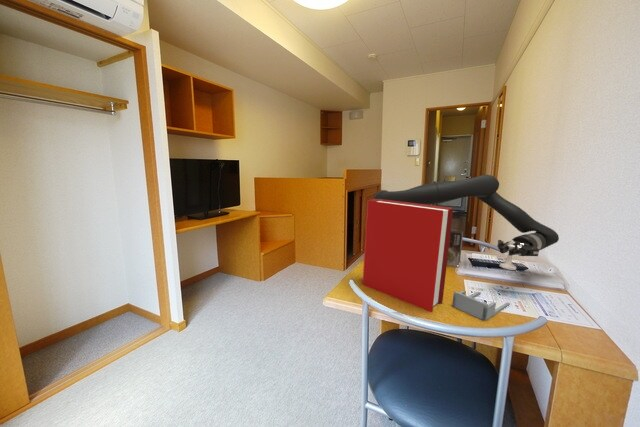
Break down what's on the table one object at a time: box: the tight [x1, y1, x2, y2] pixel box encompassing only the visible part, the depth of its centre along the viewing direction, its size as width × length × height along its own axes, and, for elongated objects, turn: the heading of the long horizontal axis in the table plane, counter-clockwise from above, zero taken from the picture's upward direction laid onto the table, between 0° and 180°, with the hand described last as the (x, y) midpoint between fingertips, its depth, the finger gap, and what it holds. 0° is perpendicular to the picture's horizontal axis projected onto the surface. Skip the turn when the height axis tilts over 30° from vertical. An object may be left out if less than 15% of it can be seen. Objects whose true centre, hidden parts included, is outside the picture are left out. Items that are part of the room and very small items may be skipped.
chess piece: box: [499, 239, 517, 271], centre depth 96 cm, size 5×5×10 cm
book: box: [362, 198, 454, 313], centre depth 93 cm, size 27×8×32 cm, turn 45°
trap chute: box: [451, 290, 511, 322], centre depth 88 cm, size 10×17×5 cm, turn 124°
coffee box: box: [447, 228, 464, 268], centre depth 126 cm, size 9×6×16 cm
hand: (506, 251), depth 93 cm, fingers closed on chess piece
